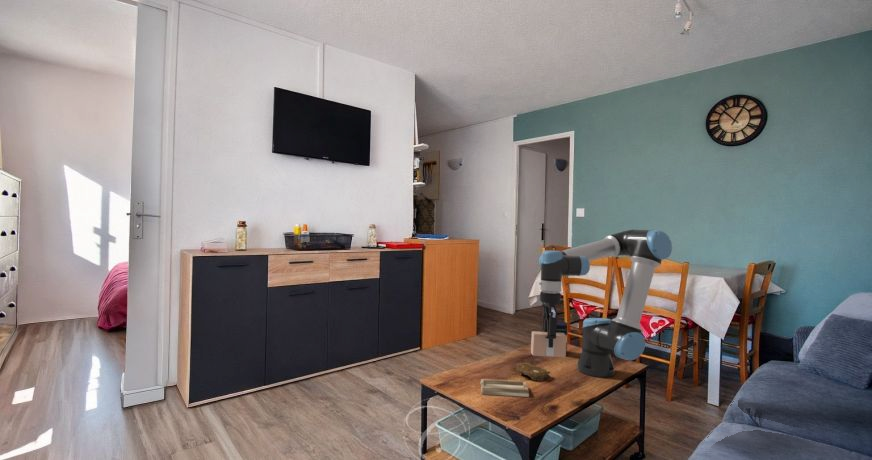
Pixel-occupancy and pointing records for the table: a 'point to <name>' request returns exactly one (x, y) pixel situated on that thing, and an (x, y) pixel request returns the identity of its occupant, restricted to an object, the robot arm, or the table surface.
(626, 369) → the table surface
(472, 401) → the table surface
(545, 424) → the table surface
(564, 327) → the storage jar
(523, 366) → the decorative rock
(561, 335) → the clay block
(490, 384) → the cream rectangular tray
